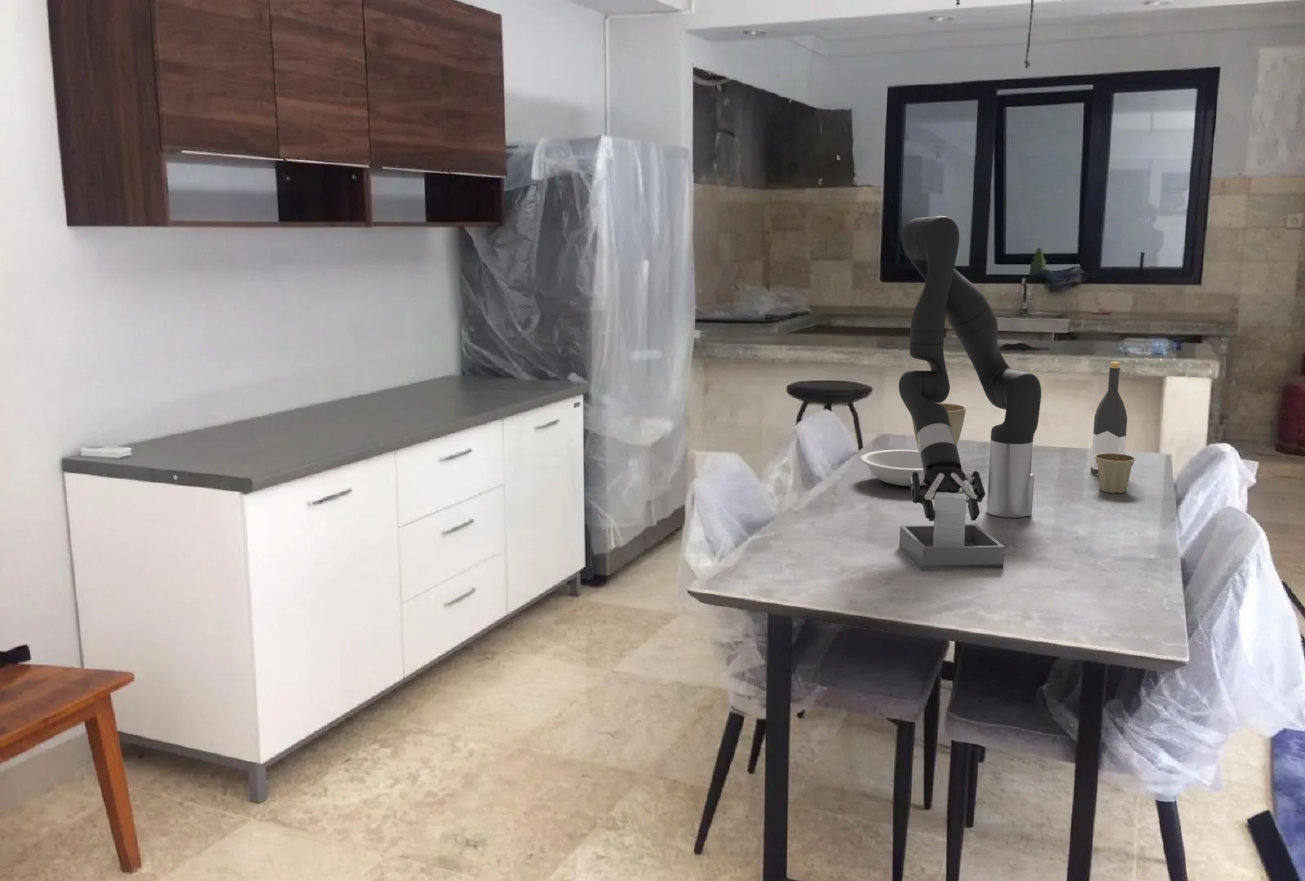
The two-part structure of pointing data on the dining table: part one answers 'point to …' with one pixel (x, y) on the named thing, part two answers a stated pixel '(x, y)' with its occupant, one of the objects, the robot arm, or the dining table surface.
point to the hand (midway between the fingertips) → (953, 519)
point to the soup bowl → (894, 465)
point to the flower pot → (1114, 471)
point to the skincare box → (949, 519)
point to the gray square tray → (951, 549)
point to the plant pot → (951, 419)
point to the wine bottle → (1109, 421)
